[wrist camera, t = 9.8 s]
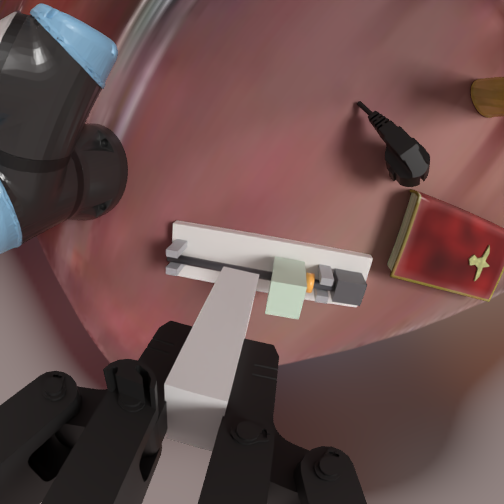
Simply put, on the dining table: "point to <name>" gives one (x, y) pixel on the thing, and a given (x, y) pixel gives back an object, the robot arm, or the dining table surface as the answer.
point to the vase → (488, 96)
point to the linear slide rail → (267, 261)
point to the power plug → (400, 151)
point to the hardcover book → (448, 248)
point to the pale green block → (286, 288)
